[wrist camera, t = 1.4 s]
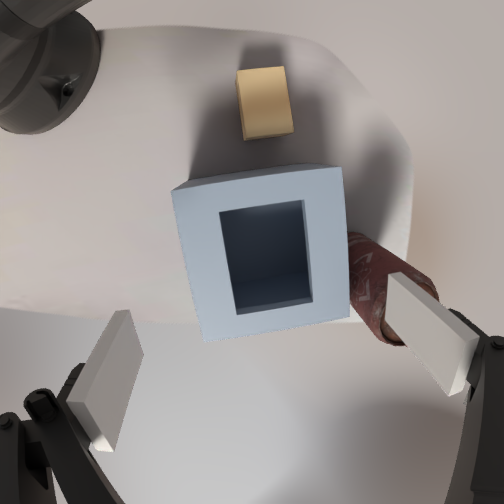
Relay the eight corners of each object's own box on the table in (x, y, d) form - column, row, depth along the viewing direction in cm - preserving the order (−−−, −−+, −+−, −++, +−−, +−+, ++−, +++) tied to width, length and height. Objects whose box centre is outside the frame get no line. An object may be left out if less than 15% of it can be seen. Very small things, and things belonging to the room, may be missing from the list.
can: (333, 293, 35) (384, 365, 22) (314, 245, 34) (367, 301, 20) (378, 271, 35) (446, 329, 22) (363, 222, 33) (438, 263, 20)
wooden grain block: (235, 83, 28) (236, 70, 23) (275, 79, 28) (283, 66, 24) (243, 140, 30) (246, 137, 25) (283, 135, 30) (294, 132, 25)
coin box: (188, 180, 31) (170, 191, 21) (307, 162, 31) (341, 166, 21) (209, 291, 34) (203, 342, 25) (318, 273, 35) (349, 316, 25)
